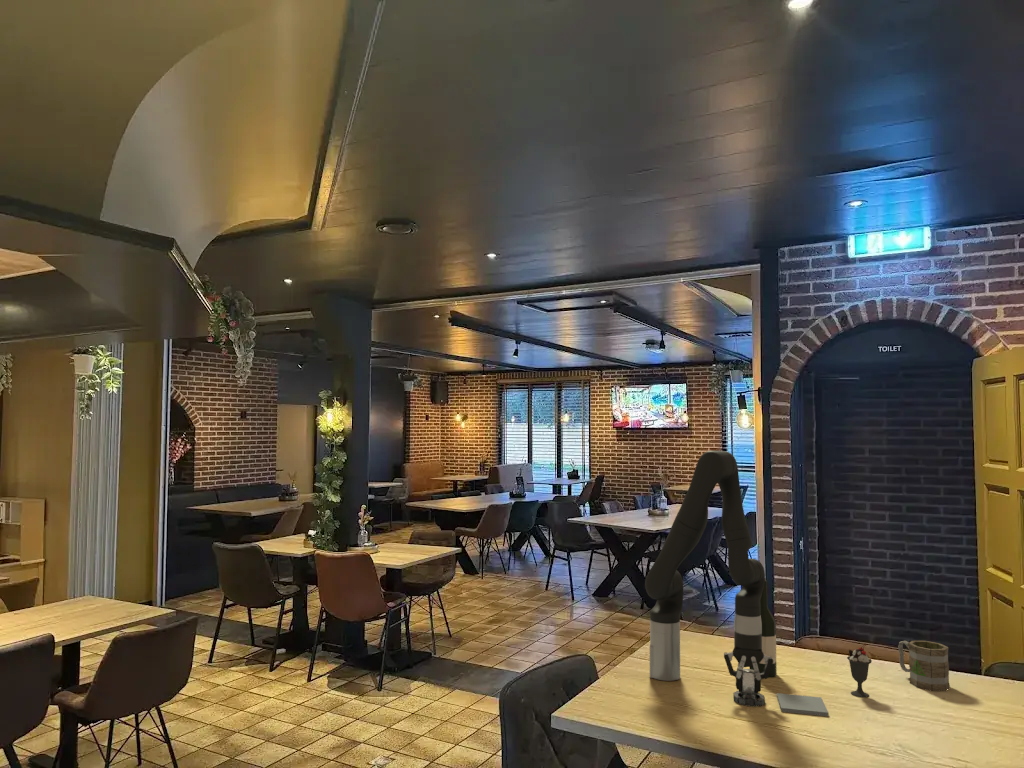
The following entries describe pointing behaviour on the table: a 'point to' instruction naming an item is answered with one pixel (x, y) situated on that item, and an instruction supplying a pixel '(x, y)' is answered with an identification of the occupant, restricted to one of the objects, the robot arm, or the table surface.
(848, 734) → the table surface
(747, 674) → the cylinder
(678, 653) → the robot arm
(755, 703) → the metal eye
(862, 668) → the sundae
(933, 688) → the mug
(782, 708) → the slate mat
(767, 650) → the wine bottle
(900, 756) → the table surface
